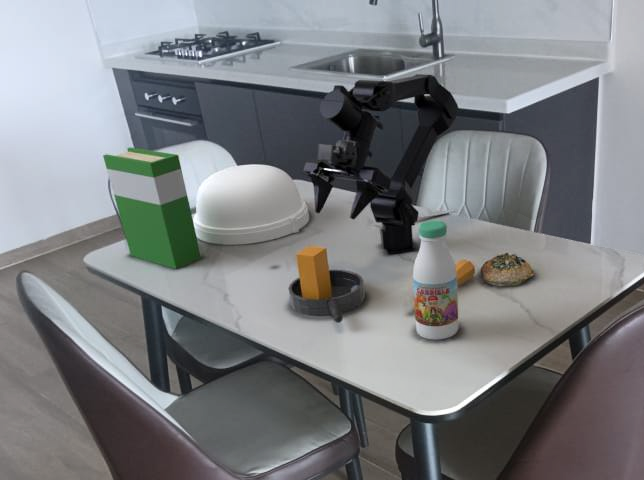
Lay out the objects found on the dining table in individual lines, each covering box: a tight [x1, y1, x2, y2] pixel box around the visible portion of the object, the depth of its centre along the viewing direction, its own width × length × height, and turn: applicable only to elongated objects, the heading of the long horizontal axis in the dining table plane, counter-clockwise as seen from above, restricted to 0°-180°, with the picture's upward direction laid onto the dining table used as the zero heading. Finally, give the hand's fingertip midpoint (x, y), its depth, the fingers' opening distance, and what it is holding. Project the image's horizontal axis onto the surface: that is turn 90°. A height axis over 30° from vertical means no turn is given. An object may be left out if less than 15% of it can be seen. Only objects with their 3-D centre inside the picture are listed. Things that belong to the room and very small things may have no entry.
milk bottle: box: [412, 220, 459, 340], centre depth 128 cm, size 8×8×20 cm
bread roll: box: [480, 252, 535, 287], centre depth 150 cm, size 11×11×5 cm
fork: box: [373, 208, 458, 229], centre depth 184 cm, size 3×24×2 cm, turn 122°
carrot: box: [455, 259, 476, 288], centre depth 146 cm, size 20×4×4 cm, turn 142°
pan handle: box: [328, 299, 344, 324], centre depth 137 cm, size 9×2×2 cm, turn 13°
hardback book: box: [102, 147, 202, 270], centre depth 170 cm, size 18×7×24 cm, turn 52°
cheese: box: [295, 245, 332, 299], centre depth 142 cm, size 4×4×12 cm
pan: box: [288, 269, 366, 317], centre depth 146 cm, size 15×15×4 cm
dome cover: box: [192, 163, 310, 246], centre depth 189 cm, size 32×30×14 cm
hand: (334, 215), depth 149 cm, fingers open, 9 cm apart
